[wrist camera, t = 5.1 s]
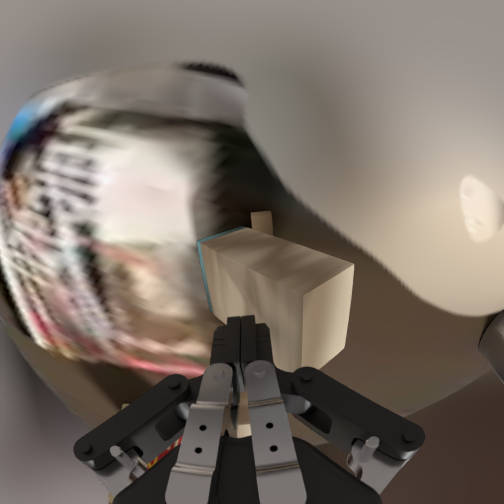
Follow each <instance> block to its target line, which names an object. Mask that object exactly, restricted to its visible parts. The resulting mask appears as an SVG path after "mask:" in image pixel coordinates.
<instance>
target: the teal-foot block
mask: <svg viewBox="0 0 504 504" xmlns="http://www.w3.org/2000/svg"><path fill="white" fill-rule="evenodd" d="M197 247H198V253H199V258H200V264H201V269H202V274H203V279H204V285H205V290H206V295H207V300H208V304H209V309H210V312H211V313H213V314H214V315H215V316H216V317H217V318H218V319H220V320H221V321H222V322H223V323H224V324H226V325H227V317H233V316H245V315H255V322H256V324H258V323H266V325H267V326H268V327H269V328H270V337H271V345H272V354H273V362H274V364H275V365H277V366H278V367H279V368H281V369H282V370H283V371H287V372H294V371H295V370H296V369H298V368H301V367H306V366H309V367H314V368H316V369H318V370H319V369H320V368H321V367H322V366H324V365H325V364H326V363H327V362H328V361H330V360H331V359H332V358H333V357H334V356H336V355H337V354H338V353H339V352H340V351H341V350H343V349H344V347H345V340H346V334H347V327H348V319H349V311H350V303H351V294H352V284H353V273H354V264H353V263H350V262H347V261H344V260H341V259H339V258H336V257H333V256H330V255H327V254H324V253H321V252H319V251H316V250H313V249H310V248H307V247H304V246H301V245H298V244H295V243H292V242H289V241H286V240H283V239H280V238H277V237H274V236H271V235H269V234H266V233H262V232H259V231H256V230H253V229H250V228H247V227H244V226H241V227H237V228H234V229H231V230H228V231H225V232H222V233H219V234H216V235H213V236H210V237H207V238H204V239H201V240H198V241H197Z"/></svg>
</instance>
